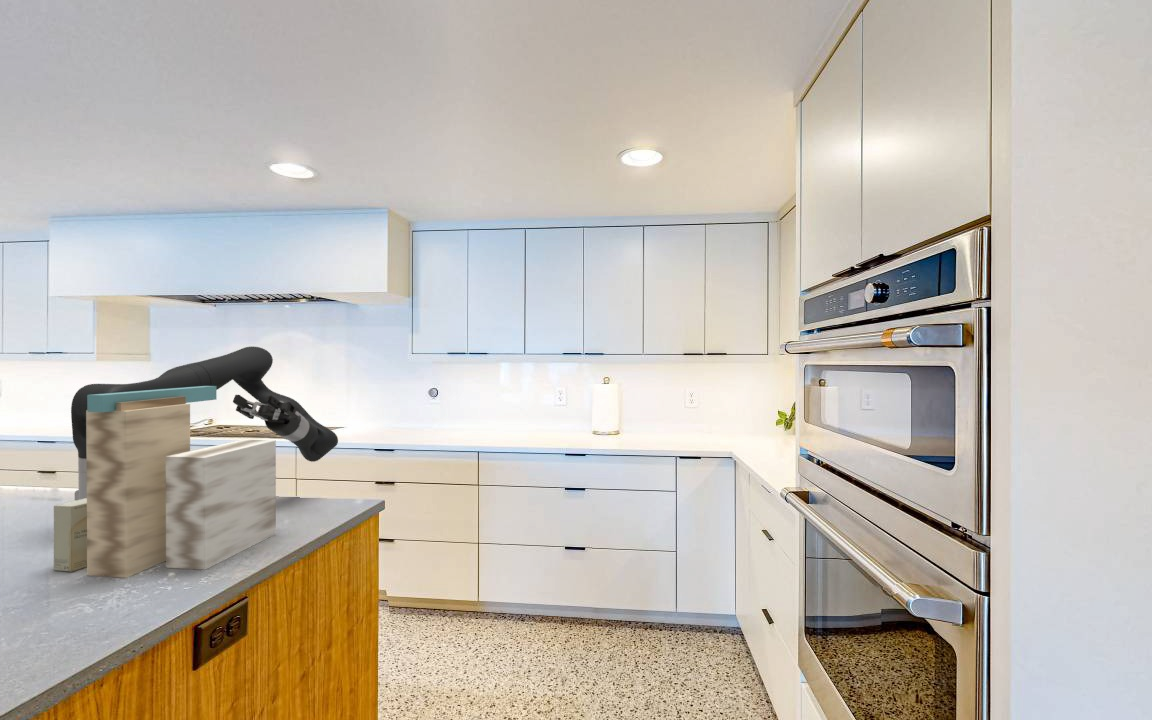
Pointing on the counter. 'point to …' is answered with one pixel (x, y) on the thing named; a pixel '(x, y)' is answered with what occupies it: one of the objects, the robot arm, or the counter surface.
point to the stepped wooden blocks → (171, 491)
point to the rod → (148, 397)
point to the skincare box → (70, 535)
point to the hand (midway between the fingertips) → (251, 398)
